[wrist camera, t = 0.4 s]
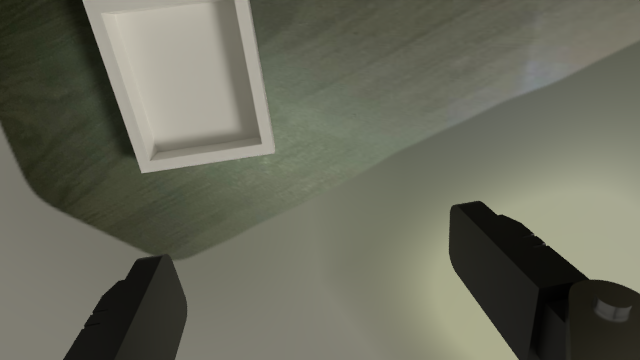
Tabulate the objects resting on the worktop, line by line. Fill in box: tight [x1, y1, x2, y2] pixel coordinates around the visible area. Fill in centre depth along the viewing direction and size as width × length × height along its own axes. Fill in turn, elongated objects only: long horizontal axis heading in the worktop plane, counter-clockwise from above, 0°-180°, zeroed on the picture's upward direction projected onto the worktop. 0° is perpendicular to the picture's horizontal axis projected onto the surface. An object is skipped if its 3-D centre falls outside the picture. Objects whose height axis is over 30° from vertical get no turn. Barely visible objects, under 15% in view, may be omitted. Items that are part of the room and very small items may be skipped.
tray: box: [82, 0, 275, 173], centre depth 31 cm, size 14×12×3 cm
